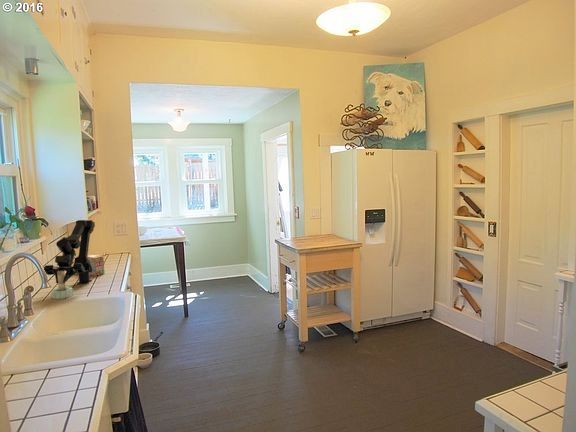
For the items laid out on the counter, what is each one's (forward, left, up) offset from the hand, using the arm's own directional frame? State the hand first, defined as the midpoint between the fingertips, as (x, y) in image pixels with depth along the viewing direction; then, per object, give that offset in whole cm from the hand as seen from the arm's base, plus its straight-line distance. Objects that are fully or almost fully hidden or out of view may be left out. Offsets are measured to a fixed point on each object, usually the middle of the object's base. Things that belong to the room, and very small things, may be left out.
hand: (60, 282), depth 198 cm
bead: (-1, 0, -7) cm, 8 cm away
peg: (-1, 0, -7) cm, 7 cm away
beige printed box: (-57, -9, -8) cm, 58 cm away
